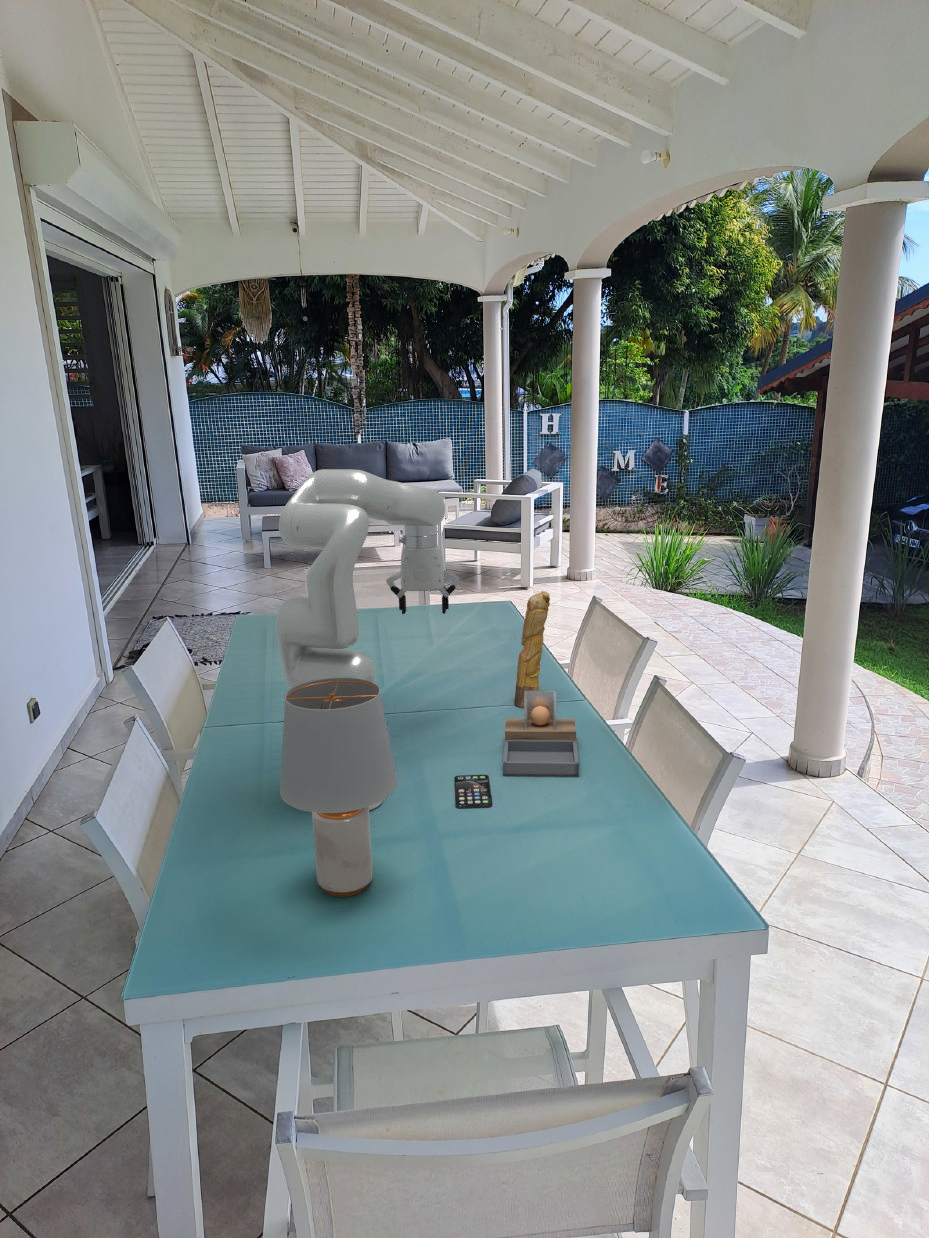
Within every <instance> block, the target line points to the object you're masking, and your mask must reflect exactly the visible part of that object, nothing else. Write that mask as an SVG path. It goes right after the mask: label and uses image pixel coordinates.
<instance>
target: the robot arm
mask: <svg viewBox="0 0 929 1238" xmlns="http://www.w3.org/2000/svg"><path fill="white" fill-rule="evenodd" d="M445 515H446V504H445V500H444V498H443V497H442V495H441V494H440V493H439V492H437V491H436V490H433V489H432V488H429V487H424V486H419V485H414V484H408V483H404V482H399V481H395V480H390V479H385V478H383V477H380V476H378V475H375V474H373V473H371V472H368V471H364V470H362V469H353V468H352V469H346V468H345V469H343V468H342V469H339V468H337V469H335V468H334V469H329V468H328V469H327V468H326V469H324V468H323V469H317V470H316V471H314V472H312V473H311V474H310V475H308V477H306V478H305V480H303V482H302V483H301V484H300V485H299V487H298V488H297V489H296V491H295V492H294V493H293V495H292V496H291V497H290V499H289V500H288V502H287V503H286V504H285V506H284V507H283V510H282V511H281V513H280V516H279V520H278V532H279V535H280V538H281V540H282V541H283V542H284V543H285V544H286V545H287V546H289V547H292V548H295V549H296V548H297V549H310V550H311V549H313V550H314V549H315V550H317V549H318V550H321V552H320V553H319V554H318V556H317V557H316V558H315V560H314V561H313V562H312V564H311V566H310V567H309V569H308V571H307V574H306V577H305V578H306V581H305V582H306V588H307V589H306V590H307V596H308V597H305V596H303V597H302V596H296V597H291V598H288V599H286V600H285V601H283V602H282V604H281V605H280V606H279V608H278V611H277V614H276V618H275V634H276V639H277V640H276V641H277V645H278V650H279V655H280V660H281V665H282V669H283V673H284V678H285V682H286V685H287V687H288V688H289V689H290V690H291V689H292V688H294V687H296V686H298V685H301V684H304V683H307V682H311V681H315V680H321V679H329V678H355V679H362V680H366V681H370V682H372V683H374V679H375V665H374V663H373V661H372V659H371V658H370V657H369V656H367V654H364V653H363V652H360V651H356V650H352V649H347V648H351V647H352V646H354V645H355V644H356V643H357V642H358V639H359V634H360V624H359V617H358V615H359V614H358V608H357V601H356V595H355V588H354V581H353V579H354V577H353V576H354V571H355V570H354V569H355V566H356V563H357V560H358V557H359V555H360V553H361V550H362V548H363V546H364V544H365V541H366V540H367V536H368V533H369V528H370V523H369V522H370V521H369V518H370V519H372V520H377V521H384V522H386V523H387V524H388V525H392V526H404V535H403V536H402V537H401V536H400V537H398V543H399V544H403V545H404V547H402V549H401V555H400V571H398V572H396V573H394V574H393V575H391V576H389V577H387V578H386V580H385V581H386V584H387V585H388V588H390V591H391V592H393V594H394V595H395V596H396V597H397V598H398V609H399V611H401V614H402V615H405V614H406V612H407V596H406V592H429V591H430V592H431V591H439V593H441V594H442V596H441V613H442V614H444V615H445V614H446V613H447V610H449V609H450V608H449V607H450V606H449V605H450V604H449V596H450V595H451V594H452V593H453V592H454V591H455V590H456V588H457V586H458V583H459V582H460V577H459V576H457V575H455V574H453V573H452V572H449V571H446V570H445V567H444V560H443V559H444V558H443V553H442V549H441V546H440V545H438V525H439V524H441V523H442V521H443V519H444V518H445ZM399 579H400V586H401V587H400V588H399V587H398V586H397V585H396V584H395V582H396V581H397V580H399ZM445 579H448V580H450V581H451V585H449V586H448V588H447V586H445ZM383 802H384V800H382V801H380V802H378V803H376V804H374V805H371V806H369V812H370V811H372V810H374V809H376V808H378V807H379V806H380V805H381V804H382V803H383Z"/></svg>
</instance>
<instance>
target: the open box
mask: <svg viewBox="0 0 929 1238" xmlns="http://www.w3.org/2000/svg"><path fill="white" fill-rule="evenodd" d="M537 706H543V707H545V708H547V709H548V711H549V713H550V719H549V720H553V725H554V730H556V719H557V691H556V690H539V691H525V694H524V708H523V709H524V711H523V712H524V718H523V719H524V730H527V720H532V719H531V712H532V710H533V709H534V708H535V707H537Z"/></svg>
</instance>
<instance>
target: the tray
mask: <svg viewBox="0 0 929 1238" xmlns="http://www.w3.org/2000/svg"><path fill="white" fill-rule="evenodd" d="M503 748H504V749H503V758H502V759H503V760H502V761H503V762H502V776H503V777H563V778H564V777H566V778H567V777H571V778H573V777H574V778H575V777H576V778H577V777H580V775H579V774H580V761H579V755H578V744H577V739H576V740H505V739H504V747H503Z"/></svg>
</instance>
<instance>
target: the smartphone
mask: <svg viewBox="0 0 929 1238" xmlns="http://www.w3.org/2000/svg"><path fill="white" fill-rule="evenodd" d="M453 781H454V782H453V783H454V803H455V808H456V809H458V810H466V809H490V808H492V807H493V798H492V797H493V796H492V792H491V791H492V790H491V782H490V777H489V775H488V774H467V775H466V774H464V775H463V774H462V775H455V776H454V780H453Z"/></svg>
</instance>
